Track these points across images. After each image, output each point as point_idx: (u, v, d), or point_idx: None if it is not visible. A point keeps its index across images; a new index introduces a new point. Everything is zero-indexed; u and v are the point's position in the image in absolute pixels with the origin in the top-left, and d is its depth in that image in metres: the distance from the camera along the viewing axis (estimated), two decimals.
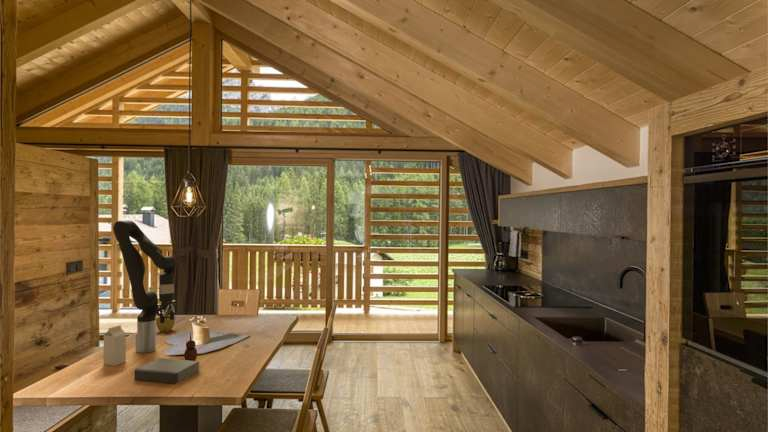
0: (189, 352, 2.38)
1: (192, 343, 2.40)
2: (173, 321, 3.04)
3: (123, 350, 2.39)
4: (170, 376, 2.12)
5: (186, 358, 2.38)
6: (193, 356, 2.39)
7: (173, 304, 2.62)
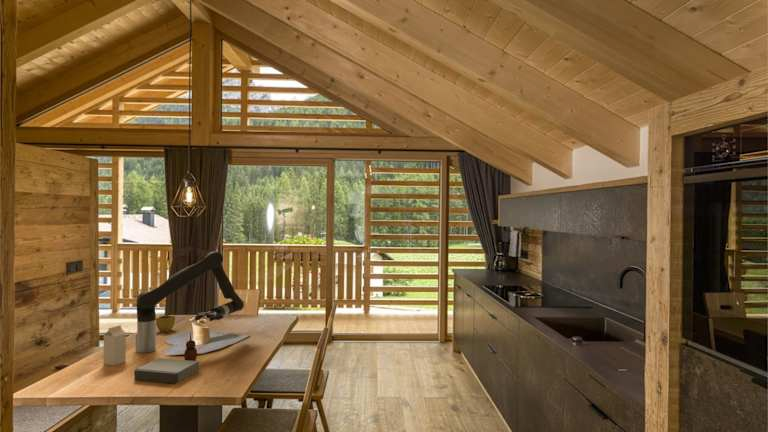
0: (189, 352, 2.38)
1: (192, 343, 2.40)
2: (173, 321, 3.04)
3: (123, 350, 2.39)
4: (170, 376, 2.12)
5: (186, 358, 2.38)
6: (193, 356, 2.39)
7: None
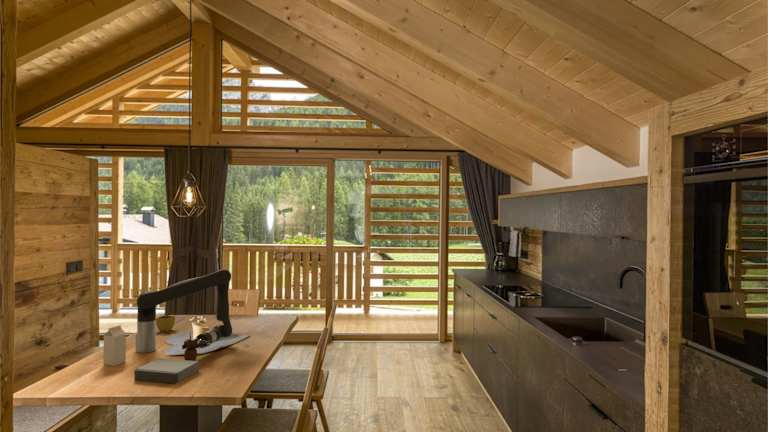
0: (189, 352, 2.38)
1: (192, 343, 2.40)
2: (173, 321, 3.04)
3: (123, 350, 2.39)
4: (170, 376, 2.12)
5: (186, 358, 2.38)
6: (193, 356, 2.39)
7: None
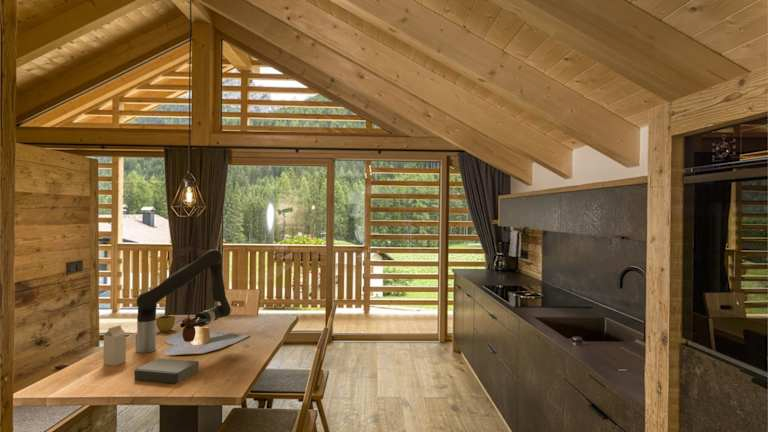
0: (188, 330, 2.34)
1: (190, 321, 2.36)
2: (173, 321, 3.04)
3: (123, 350, 2.39)
4: (170, 376, 2.12)
5: (184, 336, 2.34)
6: (191, 334, 2.35)
7: None
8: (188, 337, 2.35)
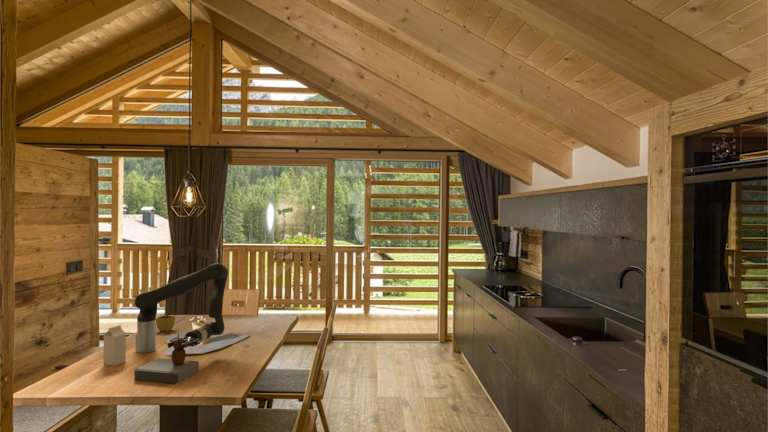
0: (177, 353, 2.20)
1: (180, 343, 2.22)
2: (173, 321, 3.04)
3: (123, 350, 2.39)
4: (170, 376, 2.12)
5: (173, 359, 2.20)
6: (181, 357, 2.21)
7: None
8: (177, 360, 2.20)
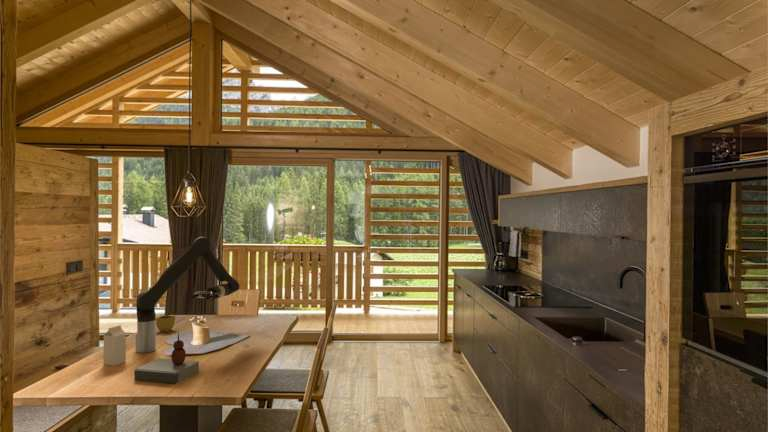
0: (177, 353, 2.20)
1: (180, 343, 2.22)
2: (173, 321, 3.04)
3: (123, 350, 2.39)
4: (170, 376, 2.12)
5: (173, 359, 2.20)
6: (181, 357, 2.21)
7: None
8: (177, 360, 2.20)
